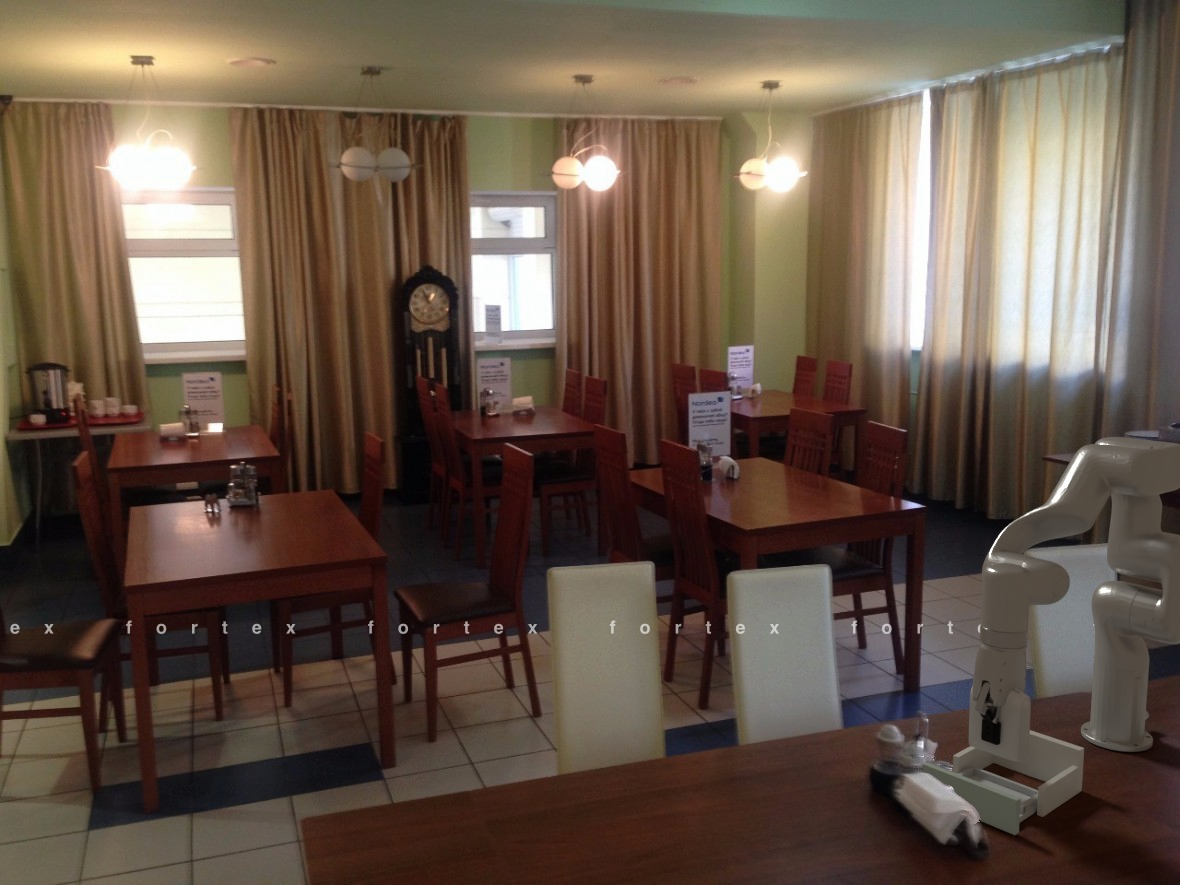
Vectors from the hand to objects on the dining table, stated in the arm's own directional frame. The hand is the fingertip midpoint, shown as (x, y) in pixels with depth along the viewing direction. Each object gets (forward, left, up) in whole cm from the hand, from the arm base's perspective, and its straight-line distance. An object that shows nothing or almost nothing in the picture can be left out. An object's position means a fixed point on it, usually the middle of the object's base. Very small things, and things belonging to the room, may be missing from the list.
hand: (998, 737), depth 177 cm
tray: (+3, 0, -11) cm, 12 cm away
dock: (-7, 0, -11) cm, 13 cm away
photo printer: (0, 0, -3) cm, 3 cm away
